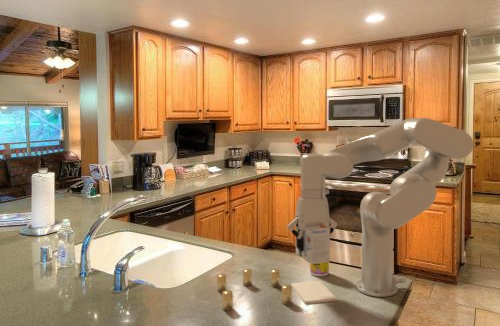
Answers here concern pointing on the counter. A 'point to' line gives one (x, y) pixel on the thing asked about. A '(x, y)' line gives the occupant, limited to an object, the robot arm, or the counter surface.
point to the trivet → (313, 292)
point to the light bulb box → (315, 244)
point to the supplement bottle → (319, 269)
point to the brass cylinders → (247, 281)
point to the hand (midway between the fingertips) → (312, 248)
